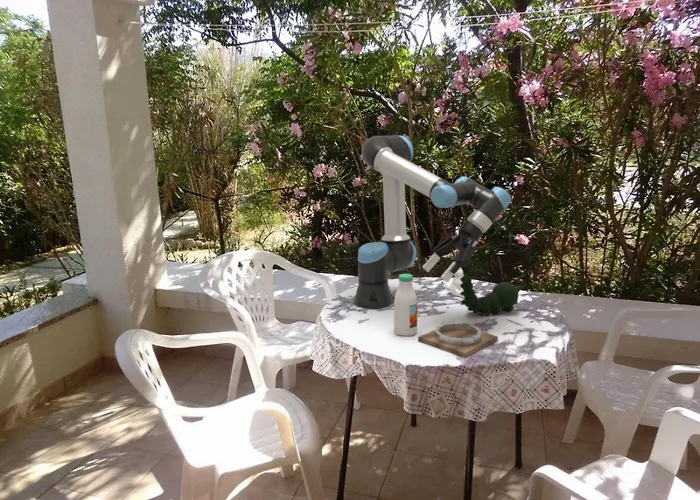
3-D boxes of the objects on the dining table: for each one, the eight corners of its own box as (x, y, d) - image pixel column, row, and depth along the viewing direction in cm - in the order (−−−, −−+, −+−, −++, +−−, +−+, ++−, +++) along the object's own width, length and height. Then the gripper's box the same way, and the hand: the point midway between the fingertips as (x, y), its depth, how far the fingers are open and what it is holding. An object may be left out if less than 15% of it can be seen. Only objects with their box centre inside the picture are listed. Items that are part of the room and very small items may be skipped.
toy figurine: (470, 324, 187) (531, 311, 193) (467, 274, 182) (530, 261, 188) (458, 316, 196) (516, 303, 202) (455, 267, 191) (515, 256, 197)
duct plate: (418, 341, 169) (418, 336, 169) (451, 326, 181) (451, 322, 180) (464, 357, 156) (464, 352, 156) (497, 340, 168) (497, 336, 168)
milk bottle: (402, 338, 172) (402, 279, 167) (389, 330, 178) (389, 274, 174) (421, 333, 175) (422, 276, 171) (408, 326, 182) (408, 270, 177)
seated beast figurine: (465, 299, 210) (466, 270, 208) (444, 296, 214) (445, 267, 212) (472, 292, 218) (473, 264, 216) (452, 290, 222) (453, 262, 220)
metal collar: (426, 336, 168) (426, 330, 168) (453, 325, 178) (453, 319, 178) (463, 349, 158) (463, 343, 158) (489, 336, 168) (490, 330, 167)
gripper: (503, 240, 166) (460, 291, 165) (462, 228, 189) (424, 272, 188) (489, 225, 163) (445, 277, 162) (450, 214, 187) (411, 259, 185)
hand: (434, 274), depth 175 cm, fingers open, 13 cm apart
